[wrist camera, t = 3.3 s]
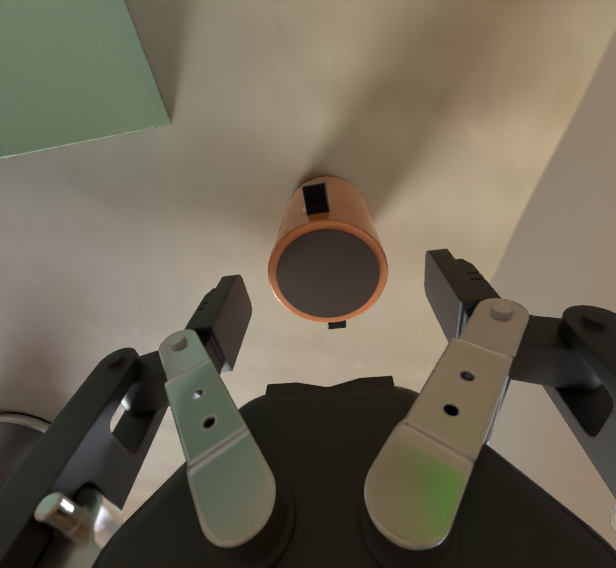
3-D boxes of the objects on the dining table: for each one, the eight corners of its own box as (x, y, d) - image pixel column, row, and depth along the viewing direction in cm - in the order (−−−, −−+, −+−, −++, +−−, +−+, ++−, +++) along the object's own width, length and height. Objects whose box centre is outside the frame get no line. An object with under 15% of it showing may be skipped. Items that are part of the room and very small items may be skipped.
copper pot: (298, 273, 22) (287, 346, 16) (273, 164, 18) (244, 203, 11) (371, 263, 21) (390, 336, 15) (362, 147, 17) (385, 179, 11)
